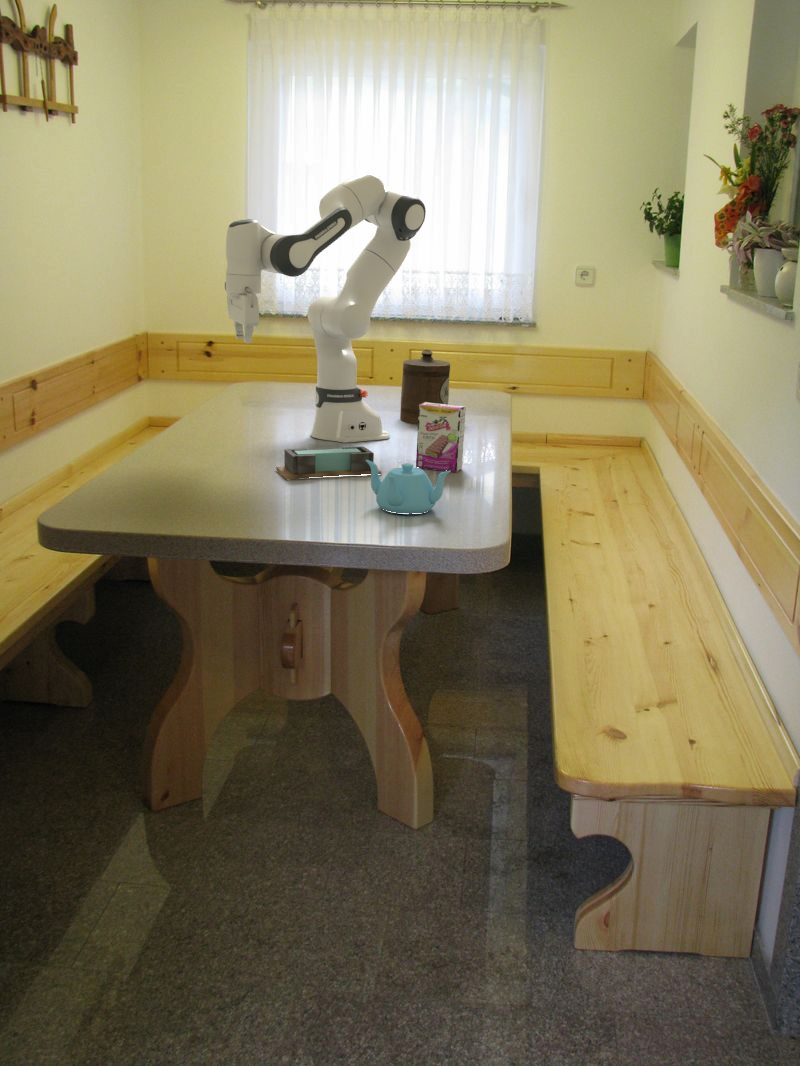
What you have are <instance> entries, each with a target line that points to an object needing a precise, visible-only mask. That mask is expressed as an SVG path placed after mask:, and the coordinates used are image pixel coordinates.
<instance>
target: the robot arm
mask: <svg viewBox="0 0 800 1066" xmlns="http://www.w3.org/2000/svg"><path fill="white" fill-rule="evenodd" d="M318 208H319V209H318V211H319V216H320V220H318V221H316V223H314V224H313V225H312V226H310V227H309V228H307V229H306V230H305V231H304V232H302V233H299V234H280V233H279V234H278V233H276V232H274V231H272V230H269V229H268V228H266V227H264V225H262V224H261V223H259V221H258V220H256V219H240V220H236V221H233V222H231V223H230V224H229V225H228V226H227V230H226V235H225V236H226V237H225V259H226V263H227V265H226V270H225V282H224V291H225V293H226V299H227V300H226V301H227V313H228V316H229V317H228V318H229V319H230V320H233V323H234V330H235V338H236V339H238V340H242V339H243V342H244V343H245V344H251V343H252V342H253V338H252V337H253V333H254V327H259V325H260V324H259V322H260V309H259V307H260V305H259V298H258V294H261V293H262V271H264V272H267V273H273V274H281V275H284V276H286V277H287V276H288V277H290V278H291V277H294V278H296V277H299V276H302V275H303V274H305V272H307V270H308V269H309V268H310V267H311V265H312V263H313V261H315V259H316V257H317V256H318V255H319V254H320V253H322V252H323V251H324V250H325V249H327V248H328V247H330V246H331V245H332V244H333V243H334V242H336V241H337V240H339V239H340V238H341V237H342V236H343V235H344V234H345V233H347V232H348V231H349V230H351V229H352V228H354V227H356V226H357V225H358V224H360V223H361V222H363V221H366V222H367V223H370V224H372V225H375V226H376V231H375V234H374V236H373V238H372V239H371V240H370V241H369V242H368V244H367V245H366V246H365V247H364V248H363V249H362V251H361V252H360V253H359V255H358V256H357V258H356V259H355V260H354V261H353V263H352V265H351V266H350V267H349V269H348V270H347V272H346V279H345V282H344V284H343V288H342V289H341V291H340V292H339V294H338V295H337V296H334V295H324V296H321V297H317V298H315V299H314V300H312V302H311V303H310V304H309V306H308V309H307V320H308V322H309V324H310V327H311V329H312V335H313V339H314V346H315V351H316V361H317V366H316V367H317V373H316V375H317V379H316V381H317V382H316V384H317V385H316V386H315V392H314V404H315V414H314V421H313V424H312V425H313V426H312V429H311V433H310V437H312V438H314V439H319V440H325V441H335V442H339V443H354V442H365V441H377V440H389V439H390V433H389V432H388V431H387V430H385V429H383V425H382V424H383V423H382V420H381V417H380V414H379V413H378V412H377V411H375V409H373V408H372V407H371V406H369V405H368V404H367V403H366V402H365V401H364V400H363V399H364V398H367V397H368V396H369V392H368V391H367V390H366V389H360V388H359V387H357V374H358V373H357V371H358V360H357V357H356V355H355V353H354V349H353V345H352V340H358V339H361V338H362V337H364V336H365V335H366V334H367V333H368V331H369V330H370V326H371V316H372V312H373V311H374V309H375V306H376V304H377V301H378V300H379V298H380V296H381V294H382V293H383V292H384V290H385V289H386V287H387V286H388V285H389V283H390V282H391V281H392V279H393V278H394V276H395V275H396V274H397V272H398V271H399V269H400V268H401V266H402V264H403V262H404V261H405V259H406V258H407V255H408V253H409V251H410V249H411V239H413V237H415V236H416V235H417V233H418V232H419V231H420V229H421V228H422V226H423V224H424V222H425V219H426V214H427V213H426V206H425V204H424V202H423V201H422V200H421V199H420V198H419V197H418V196H416V195H414V194H411V193H408V192H406V191H404V190H402V189H400V188H396V187H392V186H391V187H390V186H386V185H384V183H383V181H382V180H381V179H380V177H379V176H377V174H374V173H372V172H364V173H363V172H362V173H360V174H357V175H355V176H353V177H351V178H347V180H345V181H343V182H341V183H340V184H338V185H336V186H335V187H333V188H332V189H330V190H329V191H328V192H327V193H326V194H324V196H322V197H321V199H320V201H319V206H318Z"/></svg>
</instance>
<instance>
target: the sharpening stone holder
mask: <svg viewBox="0 0 800 1066" xmlns="http://www.w3.org/2000/svg"><path fill="white" fill-rule="evenodd" d="M350 448H357V449H358V450H360V451H361V452H360V453H350V470H339V471H318V472H315V462H316V455H314V454H311V455H296V454H295V453H294V451H301V450H309V449H308V448H289V449H288V448H285V449H284V466H282V465H281V466H276V470H277V471H278V472H279V473H280V474H281V475H280V476H281V477H283V476H284V477H285V478H286V479H299V478H309V477H323V476H339V475H361V474H371V468H370V465H369V464H368V463H367V462H366V460H369V461H372V462H374V459H375V458H374V455H375V454H374V452H373V451H372V450H370V449H368V448H367V447H365V446H363V445H361V446H342V447H341V449H350ZM277 471H276V472H277ZM278 472H277V473H278ZM279 473H278V474H279ZM378 474H381V475H382V470H380V469H378ZM284 477H283V478H284ZM285 478H284V479H285ZM286 479H285V480H286ZM299 480H300V479H299Z"/></svg>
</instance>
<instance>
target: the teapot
mask: <svg viewBox="0 0 800 1066" xmlns="http://www.w3.org/2000/svg"><path fill="white" fill-rule="evenodd" d="M366 462H367V463H368V464H369V465H370V468H371V476H370V486H371V490H372V492H373V493H374V494H375V495H376V499H375V500H376V503H377V505H378V506H379V507H381V508H382V509H384V510H387V511H391V512H396V513H409V514H412V513H424V512H427V511H429V510H430V511H431V510H433V508H434V506H435V505H436V504H437V502H438V501H440V499H441V498H442V496H443V493H444V482H445V477H447V475H448V474H450V473H452V472H451V471H441V472H440V473H439V474H438V475H437V479H436V485H435V487H433V484H432V482H431V480H430V478H429V477H428V474H427V473H426V471H424V469H423V468H417V467H416V466H415V467H414V464H413V463H410V462H408V463H407V462H404V463H401V467H396V468H392V469H390V470H389V471H388V472H387V473H386V475H385V476H384V478H383V479H382V480H381V479H380V476H379V475H378V470H379V469H378V466H377V464H376V462H374V461H373V462H372V461H369V460H366ZM381 508H380V509H381ZM382 509H381V510H382ZM430 511H429V512H430ZM427 513H428V512H427Z"/></svg>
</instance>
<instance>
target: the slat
mask: <svg viewBox="0 0 800 1066" xmlns="http://www.w3.org/2000/svg"><path fill="white" fill-rule="evenodd" d="M360 452H361V451H360V450H358V449H357V448H350V449H342V448H333V449H332V448H330V449H329V448H328V449H308V450H301V451H294V453H295V454H296V455H311V454H314V455H316V462H315V472H318V471H339V470H350V453H360Z"/></svg>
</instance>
